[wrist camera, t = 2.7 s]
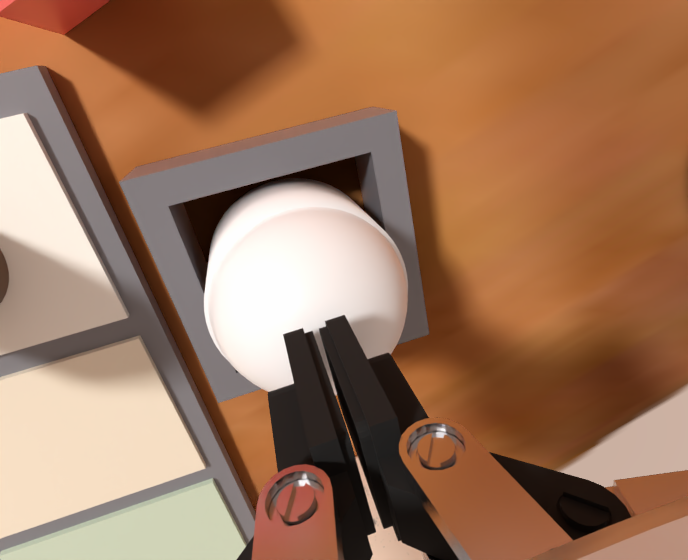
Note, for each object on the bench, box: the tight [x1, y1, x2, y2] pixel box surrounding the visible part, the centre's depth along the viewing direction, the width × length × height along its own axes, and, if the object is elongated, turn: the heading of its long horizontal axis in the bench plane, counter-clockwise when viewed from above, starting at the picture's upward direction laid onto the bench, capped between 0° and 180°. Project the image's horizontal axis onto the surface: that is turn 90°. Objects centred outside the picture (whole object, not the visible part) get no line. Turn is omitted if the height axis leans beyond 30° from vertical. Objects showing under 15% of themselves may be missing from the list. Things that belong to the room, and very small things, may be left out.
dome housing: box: [119, 107, 429, 403], centre depth 19 cm, size 10×10×3 cm
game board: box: [0, 66, 256, 560], centre depth 21 cm, size 13×30×1 cm, turn 13°
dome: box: [204, 178, 408, 395], centre depth 15 cm, size 7×7×7 cm
